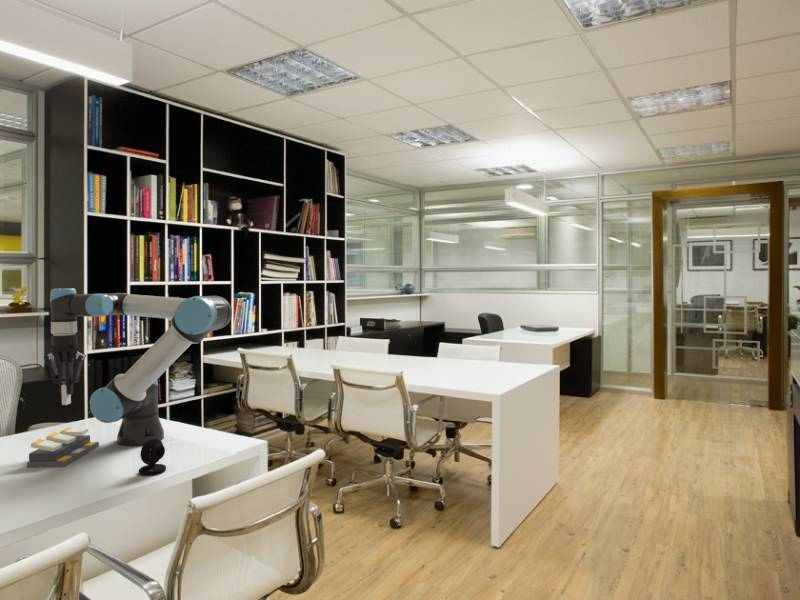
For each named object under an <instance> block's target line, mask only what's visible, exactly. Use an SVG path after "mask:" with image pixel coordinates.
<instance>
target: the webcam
mask: <svg viewBox="0 0 800 600" xmlns="http://www.w3.org/2000/svg"><path fill="white" fill-rule="evenodd" d="M165 452H166V449H165V446H164V444H163V441H162V439H161V440H160V439H157V438H151V439H149V440H147V441H146V442H145V443H144V444H143V445H141V449H140V454H139V455H140V459H141V461H142V463H143V464H145V465H143V466H141V467H140V468H139V469H138V474H139V475H141V476H144V477H145V476H146V477H147V476H156V475H161V474H163V473H164V472H165V471H166V469H167V466H166V465H165V464H162V463H158V462H159V461H160V460H161V459H163V457H164V456H165Z"/></svg>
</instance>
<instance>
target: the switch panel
mask: <svg viewBox="0 0 800 600" xmlns="http://www.w3.org/2000/svg"><path fill="white" fill-rule="evenodd" d="M69 436H70V435H69ZM74 437H76V439H75V441H73V442H71V443H69V444H64V443H62V447H61V448H60V449H58V450H56V451H54V452H52V451H47V450H42V449H37V448H36V449H35V450H34V451H30V453H28V461H27V462H26V467H27V468H64V467H66V466H68V465H69V464H71V463H73V462H75V461H76V460H78V459H80V458H81V457H83V456H86V454H88V453H90V452H92V451H93V450H95V449H97V448H99V447H100V441H91V435H89V434H84V435H82V436H74ZM56 443H58V442H56Z"/></svg>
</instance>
